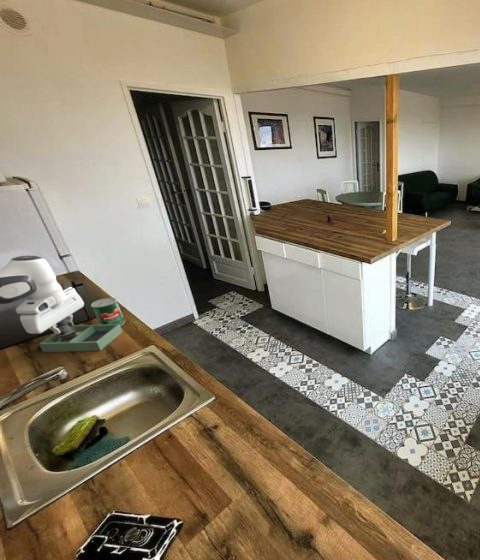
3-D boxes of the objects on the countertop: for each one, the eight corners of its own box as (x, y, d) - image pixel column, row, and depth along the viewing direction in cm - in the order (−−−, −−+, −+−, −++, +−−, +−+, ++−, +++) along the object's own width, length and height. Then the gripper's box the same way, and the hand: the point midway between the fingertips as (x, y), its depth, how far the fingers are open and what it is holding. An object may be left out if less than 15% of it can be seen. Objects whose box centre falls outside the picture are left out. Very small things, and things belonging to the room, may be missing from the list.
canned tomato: (114, 318, 136) (104, 296, 131) (130, 320, 135) (121, 298, 130) (96, 328, 128) (85, 306, 124) (112, 330, 128) (102, 307, 123)
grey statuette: (79, 332, 124) (66, 306, 118) (80, 339, 120) (67, 312, 115) (59, 338, 120) (44, 312, 115) (59, 345, 116) (44, 318, 111)
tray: (100, 350, 116) (96, 342, 115) (43, 352, 115) (38, 343, 113) (122, 331, 127) (119, 324, 125) (70, 333, 125) (66, 325, 124)
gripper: (63, 285, 121) (78, 315, 127) (9, 312, 103) (30, 346, 109) (80, 284, 121) (94, 314, 127) (30, 312, 103) (49, 345, 109)
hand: (64, 329), depth 118 cm, fingers closed on grey statuette, 3 cm apart
